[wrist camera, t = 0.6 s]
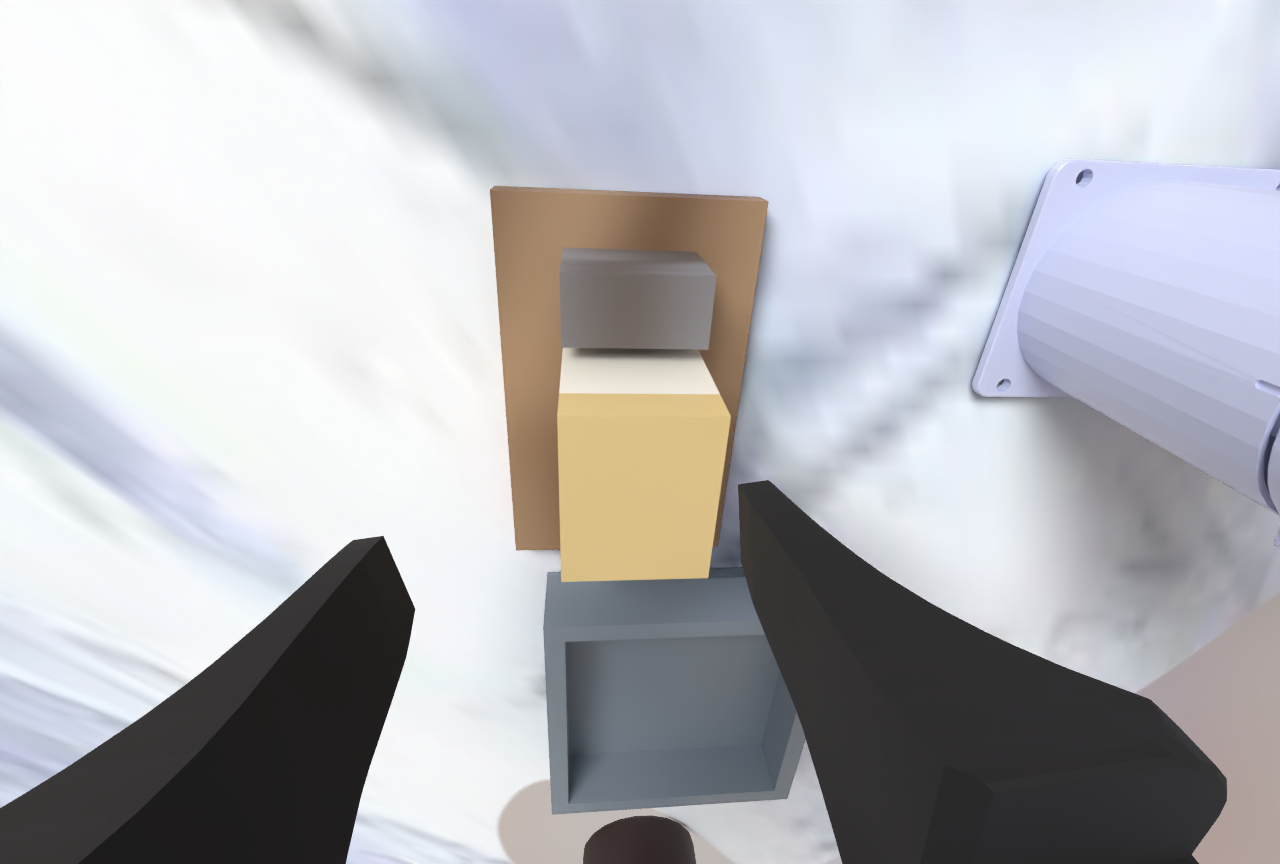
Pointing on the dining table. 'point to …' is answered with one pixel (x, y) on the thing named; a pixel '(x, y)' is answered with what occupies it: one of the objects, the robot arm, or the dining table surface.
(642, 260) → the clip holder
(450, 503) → the dining table surface
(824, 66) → the dining table surface
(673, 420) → the white and tan block
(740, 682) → the tray
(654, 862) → the bottle
